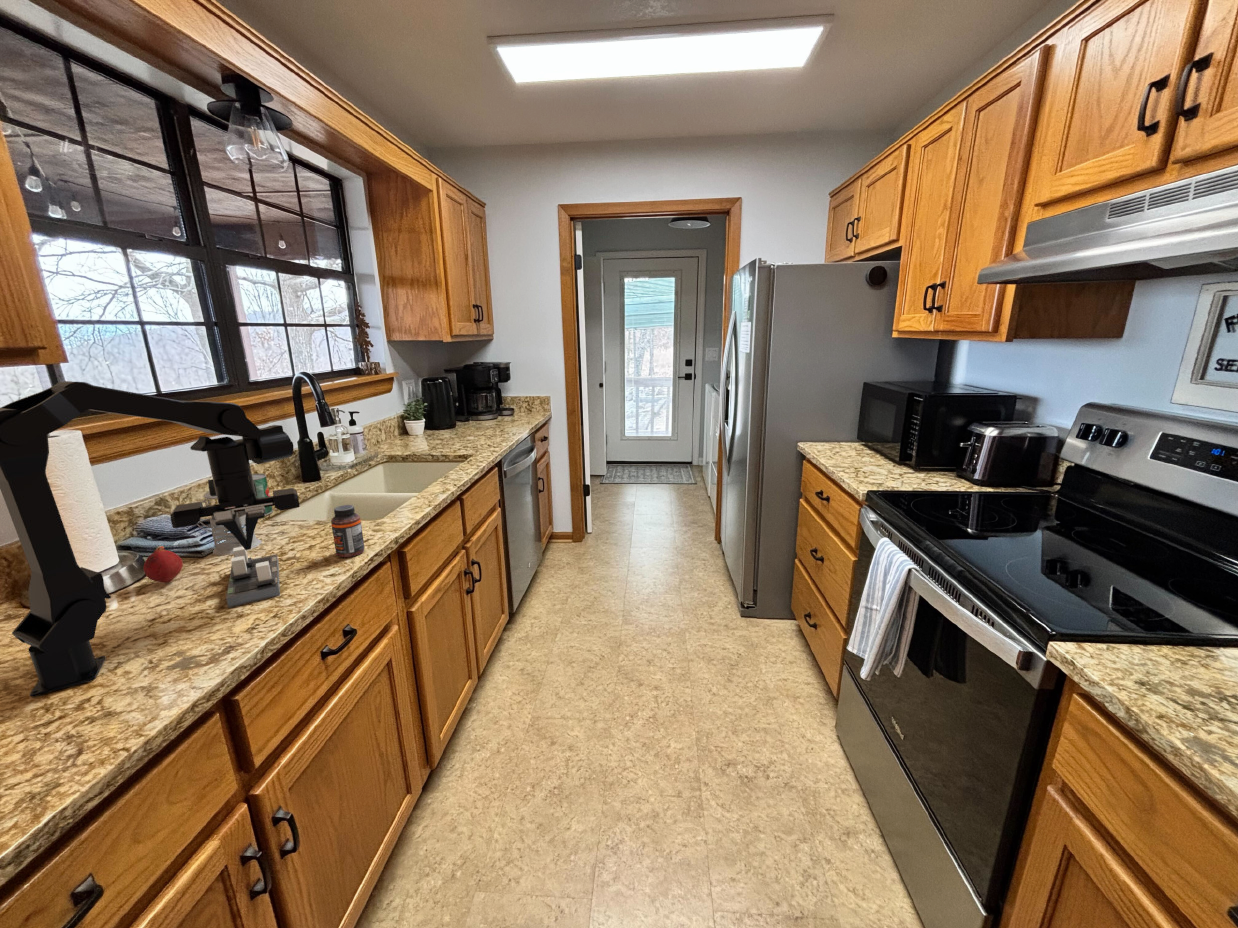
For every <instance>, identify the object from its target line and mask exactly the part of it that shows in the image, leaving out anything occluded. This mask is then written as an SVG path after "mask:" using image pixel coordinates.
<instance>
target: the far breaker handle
mask: <svg viewBox="0 0 1238 928" xmlns="http://www.w3.org/2000/svg"><path fill="white" fill-rule="evenodd" d="M232 555H233V558H235V557H240V556H244V557H245V562H246V566H249V565H251V561H252V560H251V559H252V557H249V556H248V552H247V551H246V550H245V549H244V547H243V546H242V547H237V548H233V554H232Z"/></svg>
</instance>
